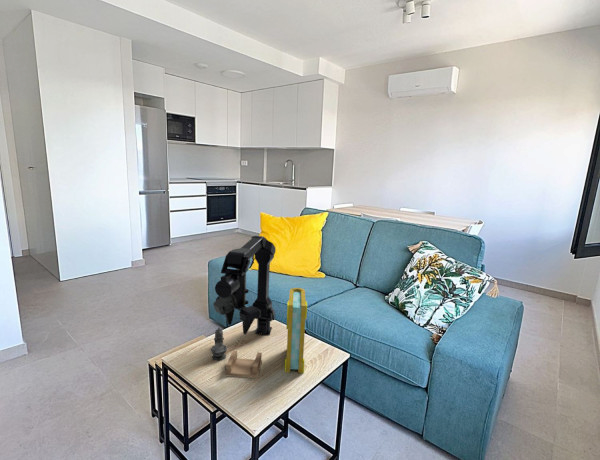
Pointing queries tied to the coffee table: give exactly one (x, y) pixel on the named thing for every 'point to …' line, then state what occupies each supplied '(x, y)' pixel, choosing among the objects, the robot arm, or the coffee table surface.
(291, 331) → the book
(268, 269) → the robot arm
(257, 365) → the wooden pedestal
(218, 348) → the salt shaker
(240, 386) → the coffee table surface
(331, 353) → the coffee table surface
